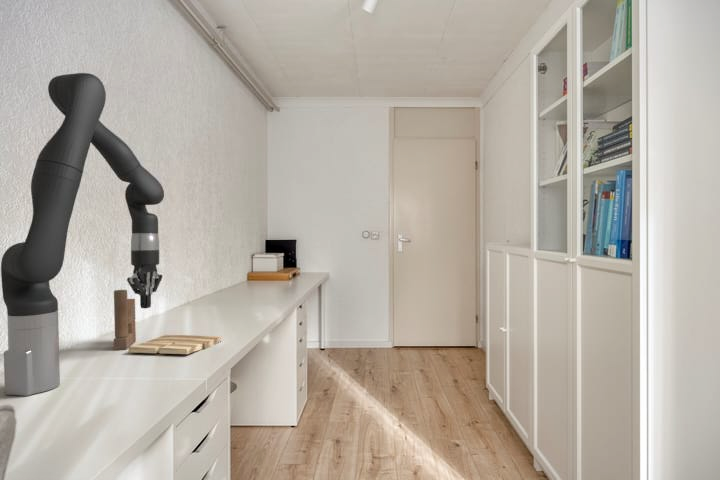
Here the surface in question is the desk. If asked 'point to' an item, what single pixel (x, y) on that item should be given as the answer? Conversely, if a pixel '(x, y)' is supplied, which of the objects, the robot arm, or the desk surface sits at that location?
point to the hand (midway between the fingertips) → (145, 307)
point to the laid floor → (188, 339)
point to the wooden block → (124, 320)
